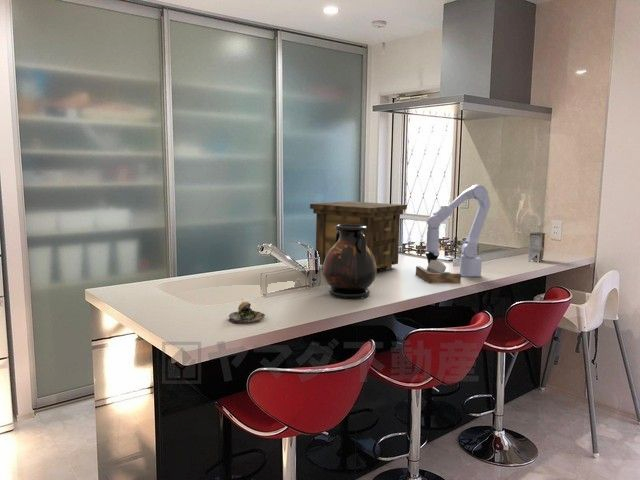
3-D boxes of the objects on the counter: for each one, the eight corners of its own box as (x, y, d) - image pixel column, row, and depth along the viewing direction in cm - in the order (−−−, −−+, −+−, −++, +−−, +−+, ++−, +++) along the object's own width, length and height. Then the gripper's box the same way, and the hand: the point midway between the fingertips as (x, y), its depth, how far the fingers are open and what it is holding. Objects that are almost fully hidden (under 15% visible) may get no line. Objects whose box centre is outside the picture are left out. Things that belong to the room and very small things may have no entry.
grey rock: (442, 280, 247) (451, 262, 249) (426, 270, 247) (435, 253, 250) (436, 282, 255) (445, 265, 257) (421, 273, 255) (430, 256, 258)
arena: (445, 274, 258) (446, 264, 258) (460, 282, 239) (461, 272, 239) (415, 274, 257) (416, 264, 256) (428, 282, 237) (429, 272, 237)
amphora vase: (387, 297, 208) (389, 227, 205) (342, 304, 197) (344, 229, 193) (355, 286, 226) (356, 222, 223) (312, 292, 215) (313, 224, 211)
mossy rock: (234, 327, 167) (234, 304, 166) (224, 317, 177) (224, 296, 176) (270, 323, 172) (270, 300, 171) (258, 314, 182) (258, 292, 181)
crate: (348, 260, 294) (349, 201, 289) (404, 268, 273) (406, 204, 268) (309, 268, 266) (310, 203, 262) (368, 278, 245) (370, 208, 241)
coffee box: (531, 259, 308) (533, 231, 306) (543, 260, 305) (545, 232, 302) (527, 261, 301) (529, 233, 299) (539, 262, 297) (541, 234, 295)
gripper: (420, 238, 263) (419, 265, 265) (429, 242, 249) (428, 270, 250) (433, 238, 264) (432, 265, 266) (443, 242, 249) (442, 270, 251)
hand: (431, 267), depth 258 cm, fingers closed
